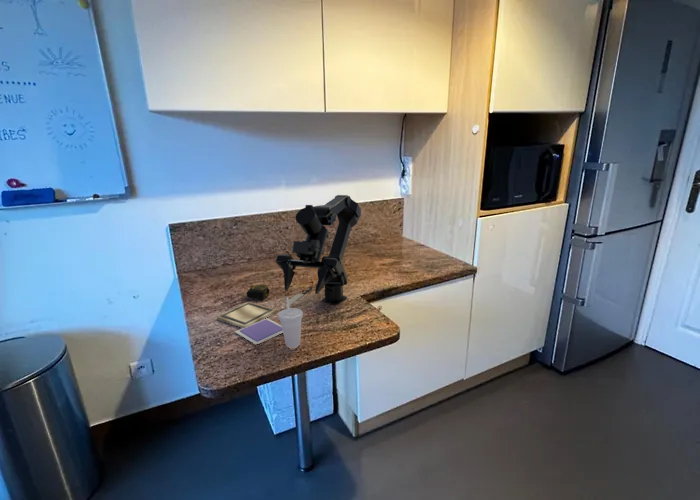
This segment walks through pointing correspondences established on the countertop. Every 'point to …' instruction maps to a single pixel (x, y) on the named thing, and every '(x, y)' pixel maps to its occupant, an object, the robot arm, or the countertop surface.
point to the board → (246, 314)
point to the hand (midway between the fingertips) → (300, 291)
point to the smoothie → (291, 325)
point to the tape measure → (258, 292)
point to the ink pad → (260, 331)
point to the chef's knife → (298, 296)
